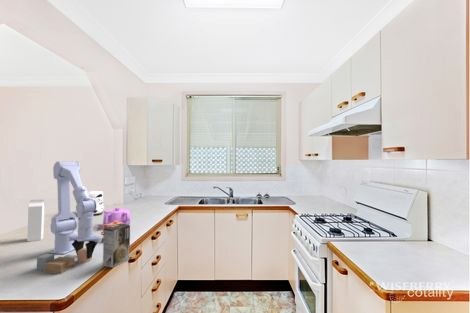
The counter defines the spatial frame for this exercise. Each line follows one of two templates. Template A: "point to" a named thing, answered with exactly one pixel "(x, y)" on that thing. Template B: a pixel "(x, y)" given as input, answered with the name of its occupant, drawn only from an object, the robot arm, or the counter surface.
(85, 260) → the terracotta block
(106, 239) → the coffee box
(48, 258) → the grey block
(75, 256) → the tile
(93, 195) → the milk container
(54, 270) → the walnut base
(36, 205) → the milk
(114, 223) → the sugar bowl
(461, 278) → the counter surface
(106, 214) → the teakettle
